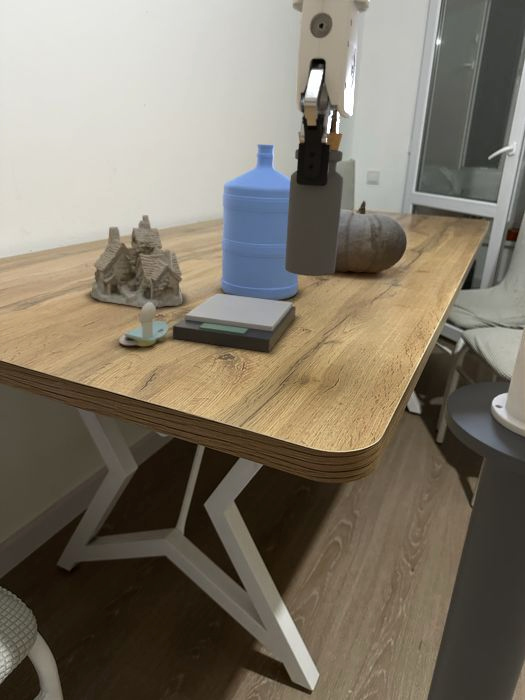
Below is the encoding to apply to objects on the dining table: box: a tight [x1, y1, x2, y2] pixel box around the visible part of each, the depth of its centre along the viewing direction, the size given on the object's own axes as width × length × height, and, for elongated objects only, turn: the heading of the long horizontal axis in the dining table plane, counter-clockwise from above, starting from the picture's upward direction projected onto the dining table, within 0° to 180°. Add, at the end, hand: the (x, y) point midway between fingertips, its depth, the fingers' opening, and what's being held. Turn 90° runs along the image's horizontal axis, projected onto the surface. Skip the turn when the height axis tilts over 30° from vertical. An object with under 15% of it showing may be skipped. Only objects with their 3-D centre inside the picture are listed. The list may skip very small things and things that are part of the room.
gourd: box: [334, 200, 408, 274], centre depth 128 cm, size 25×25×17 cm
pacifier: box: [118, 302, 169, 347], centre depth 75 cm, size 7×6×6 cm
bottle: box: [285, 131, 344, 277], centre depth 58 cm, size 6×6×15 cm
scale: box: [172, 293, 297, 353], centre depth 84 cm, size 15×18×3 cm
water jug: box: [220, 143, 299, 301], centre depth 101 cm, size 16×16×28 cm
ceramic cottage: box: [90, 214, 184, 309], centre depth 95 cm, size 16×16×15 cm
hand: (316, 181), depth 57 cm, fingers closed on bottle, 5 cm apart
